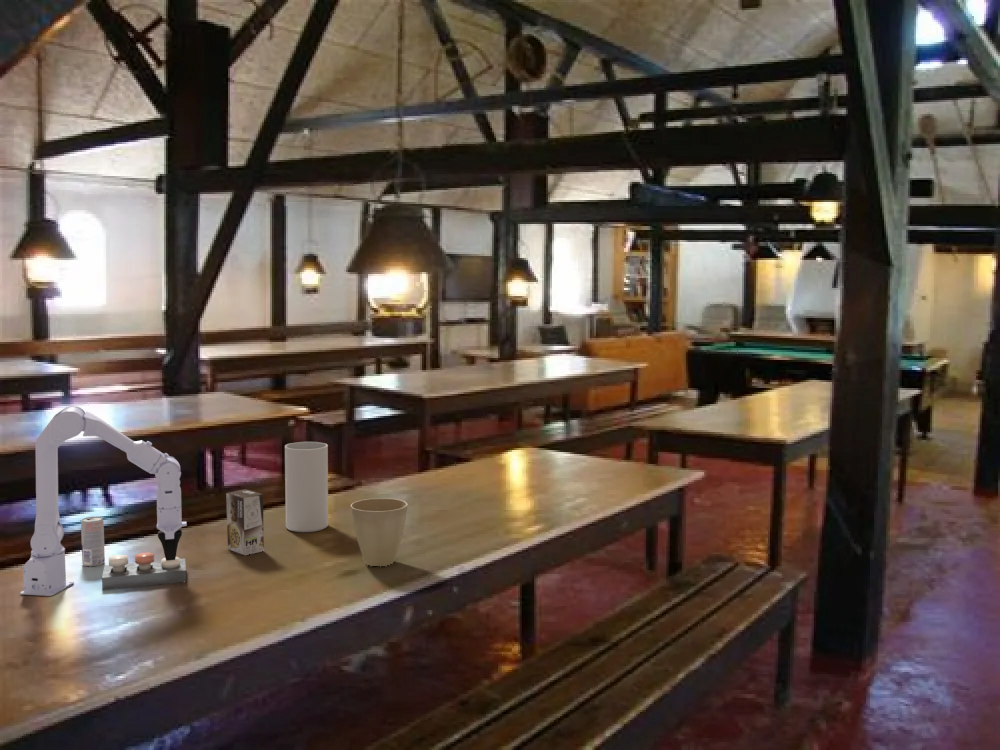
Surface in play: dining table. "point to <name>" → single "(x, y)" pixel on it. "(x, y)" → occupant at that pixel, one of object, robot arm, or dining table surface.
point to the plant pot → (379, 528)
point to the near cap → (118, 562)
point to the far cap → (170, 563)
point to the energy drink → (92, 541)
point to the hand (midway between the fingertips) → (170, 559)
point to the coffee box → (245, 522)
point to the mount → (142, 575)
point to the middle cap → (144, 560)
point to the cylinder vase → (306, 486)
